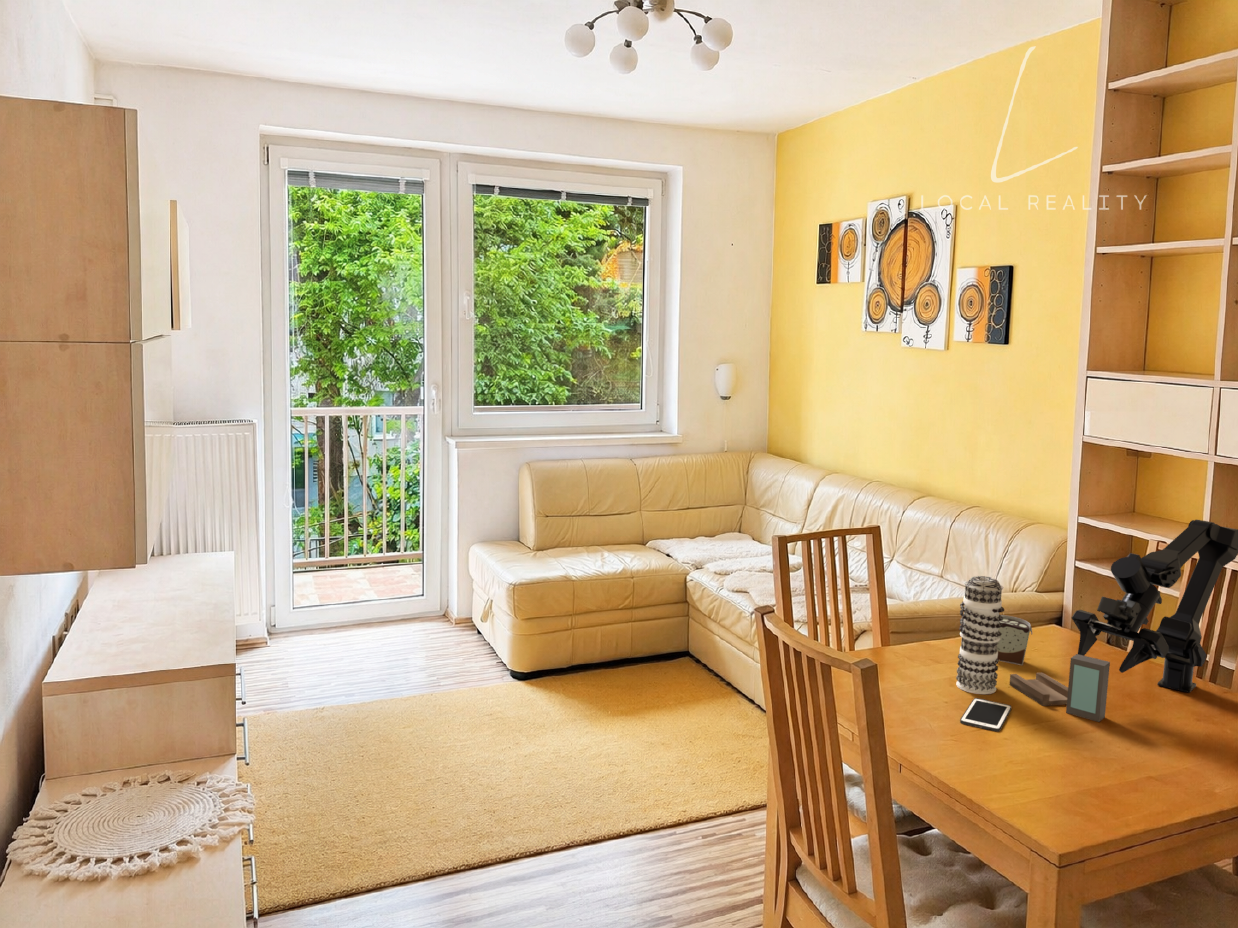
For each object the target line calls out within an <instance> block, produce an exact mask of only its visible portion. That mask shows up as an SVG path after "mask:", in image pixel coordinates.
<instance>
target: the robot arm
mask: <svg viewBox="0 0 1238 928" xmlns="http://www.w3.org/2000/svg"><path fill="white" fill-rule="evenodd" d="M1197 553H1198V560H1197V563H1196V564H1195V567H1194V569H1193V571H1192V573H1191V576H1190V578H1189V580H1188V582H1187V585H1186V588H1185V590H1184V592H1183V595H1182V596H1181V599H1180V601H1179V604H1178V606H1177V609H1176V611H1175V612H1174V614H1172V615H1171V616H1166V615H1165V616H1164V617H1162V618H1161V621H1160V624H1159V626H1158V628H1157V629H1156V630H1154V629H1149V628H1145V627H1144V628H1141V627H1142V626H1143V625H1146V626H1147V625H1148V623H1149V619H1148V616H1149V614H1150V613H1151V611H1152V609H1153V608H1154V607H1155V605H1156V604H1159V605H1162V604H1163V599H1162V597H1161V591H1160V590H1158V588H1157V587H1156V586H1158V587H1161V588H1165V589H1166V588H1167V589H1170V588H1172V587H1173V586H1174V585H1175V584H1176V583H1178V580H1179V579H1180V578H1181V576H1182V567H1183V566H1184V565H1185V564H1187V562H1188V561H1190V559H1192V558H1193V556H1195V555H1196V554H1197ZM1237 557H1238V529H1237V528H1231V527H1226V526H1221V525H1219V524H1217V523H1215V522H1212V521H1206V520H1203V519H1202V520H1201V519H1191V520H1190V521H1189V523H1188V525H1187V527H1186V528H1185V529H1184V530H1183V531H1182V532H1181V533H1180V534H1178V535H1177V536H1176V537H1174V539H1173V540H1172V541H1170V542H1169V543H1168V544H1167V545H1166V546H1165V547H1164V548H1163V549H1161V550H1156V551H1151V552H1149V553H1147V554H1146V555H1144V556H1143V557H1141V555H1140V554H1137V553H1132V552H1131V553H1129V554H1128V555H1127V556H1124V557H1123V556H1122V557H1121V558H1118V559H1117V560H1115V561H1113V562H1112V564H1111V566H1110V571H1111V574H1112V575H1113V577H1114V580H1115V581H1116V583H1117V585H1118V586H1119V587H1120V590H1121V591H1122V592H1124V595H1123V597H1122V598H1121V599H1114V598H1110V597H1108V596H1107V597H1106V596H1101V598H1100V600H1099V604H1098V606H1097V609H1096V610H1097V612H1098V613H1099V612H1101V613H1103V616H1102V618H1103V619H1104V620H1106V621H1107V622H1103V621H1100V620H1099V619H1098V617H1097V615H1096V613H1093V612H1090V611H1086V610H1083V609H1079V610H1076V611H1074V612H1073V615H1072V616H1071V619H1072V622H1073V623H1074V625H1075V626H1076V627H1077V629H1078V631H1079V643H1078V648H1077V654H1079V655H1083V656H1086V655H1087V653H1088V652H1089V651H1090V649H1091V648H1092V647H1093V645H1095V644H1096V642H1097V641H1098V638H1097V637H1099V635H1100V634H1101V632H1102V633H1105V634H1108V635H1112V636H1115V637H1119V638H1122V639H1126V640H1129V641H1132V647H1131V649H1130V650H1129V652H1128V653H1127V655H1126V656H1125V657H1124V659H1123V661H1122V662H1121V665H1120V666H1119V669H1118V670H1119V672H1120V673H1122V674H1123V673H1124V672H1127V671H1129V670H1131V669H1132V668H1134V667H1136V666H1138V665H1140V664H1142V663H1144V662H1146V661H1149V660H1151V659H1153V660H1156V659H1158V658H1162V659H1164V662H1163V663H1164V664H1163V673H1162V678H1161V679H1160V680H1159V681H1158V682H1157V686H1160V687H1162V688H1163V687H1164V688H1166V689H1167V688H1168V689H1171V690H1176V691H1180V692H1185V693H1191V692H1192V691H1193V690H1194V689H1195V688H1196V687H1197V683H1196V682H1193V678H1194V677H1193V675H1194V668H1195V667H1198V668H1199V667H1204V666H1203V665H1204V664H1205V662H1206V658H1207V653H1206V652H1205V650H1204V648H1203V646H1202V644H1201V642H1202V638H1203V637H1202V633H1201V629H1200V621H1201V619H1202V617H1203V614H1204V611H1205V610H1206V607H1207V604H1208V602H1209V600H1210V598H1211V595H1212V594H1213V593H1212V592H1213V591H1214V588H1215V587H1216V584H1217V581H1218V579H1219V576H1220V574H1221V572H1222V569H1223V568H1224V567H1225V566H1227V565H1228V564H1230V563H1231V562H1233V561H1235V560H1236V558H1237Z"/></svg>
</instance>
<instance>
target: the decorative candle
mask: <svg viewBox="0 0 1238 928" xmlns="http://www.w3.org/2000/svg"><path fill="white" fill-rule="evenodd" d="M963 584H964V587H965V588H964V589H965V590H964V596H963V600H962V602H961V603H960V605H959V606H960V610H959V615H960V616H961V618H960V619H959V624H960V625H959V628H958V630H959V631H960V632H959V635H960V637H961V639H960V640H961V641H960V644H961V645H960V647H959V654H958V655H957V658H958V660H957V665H958V667H957V668H956V673H957V675H956V676H955V677H956V678H955V679H956V682H955V684H956V687H957V688H958V689H959V690H961V691H964V692H967V693H971V694H976V695H991V694H994V693H995V692H996V691H997V687H996V686H997V685H998V684H997V683H998V680H997V679H998V673H997V671H998V670H999V669H998V668H999V666H998V664H999V662H1000V661H999V660H998V659H997V657H998V651H997V645H998V642H999V640H1000V637H999V636H1001V632H999V631H998V628H1000V627H1002V623H1000V622H999V621H1001V620H1003V617H1002V616H1001V615H1002V614H1000V613H1003V612H1005V608H1004V607H1003V606H1002V605H1003V604H1002V603H1003V601H1002V592H1003V590H1004V586H1003V585H1001V584H1000V582H999V581H998V579H997V578H994V577H991V576H985V575H984V576H983V575H977V576H971V578H969V580H968V581H965V582H964V583H963Z"/></svg>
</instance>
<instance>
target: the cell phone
mask: <svg viewBox="0 0 1238 928" xmlns="http://www.w3.org/2000/svg"><path fill="white" fill-rule="evenodd" d="M1011 711H1012V705H1011V704H1007V703H1003V702H999V701H994V700H993V701H992V700H989V699H984V698H979V697H975V698H973V699H972V700H971V702H970V704H969V705H968V706H967V708H966V710H965V711H964V712H963V714H962V716H961V717H960V719H959V723H960V724H962V725H965V726H970V727H972V728H973V727H974V728H975V727H976V728H979V729H982V730H986V731H990V732H997V733H998V732H1000V731H1001V730H1002V729H1003V726H1004V724H1005V723H1006V721H1007V719H1008V717H1009V715H1010V713H1011Z"/></svg>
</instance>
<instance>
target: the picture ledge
mask: <svg viewBox="0 0 1238 928" xmlns="http://www.w3.org/2000/svg"><path fill="white" fill-rule="evenodd" d="M1009 685H1010V687H1011V688H1014V689H1015V690H1016V691H1018V692H1020V693H1022V694H1023V695H1025V696H1026V697H1028V698H1029V699H1031V700H1033V702H1035V703H1037V704H1039V705H1041V706H1042V707H1046V706H1047V707H1048V706H1060V705H1063V706H1064V705H1067V696H1068V686H1066V685H1064V684H1063V683H1061V682H1060V681H1058V680H1056V679H1054V678H1053V677H1051V676H1049V675H1048V674H1046V673H1044V672H1036V673H1035V678H1034V679H1031V678H1030V679H1025V678H1024V677H1022V676H1020V675H1019V674H1018V673H1011V674H1009Z"/></svg>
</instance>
